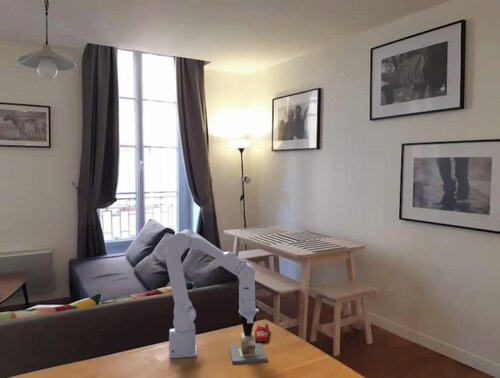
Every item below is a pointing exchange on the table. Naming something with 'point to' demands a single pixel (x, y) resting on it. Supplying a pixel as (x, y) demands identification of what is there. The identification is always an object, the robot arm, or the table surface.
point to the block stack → (247, 344)
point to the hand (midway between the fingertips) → (247, 335)
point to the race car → (262, 332)
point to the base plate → (249, 358)
